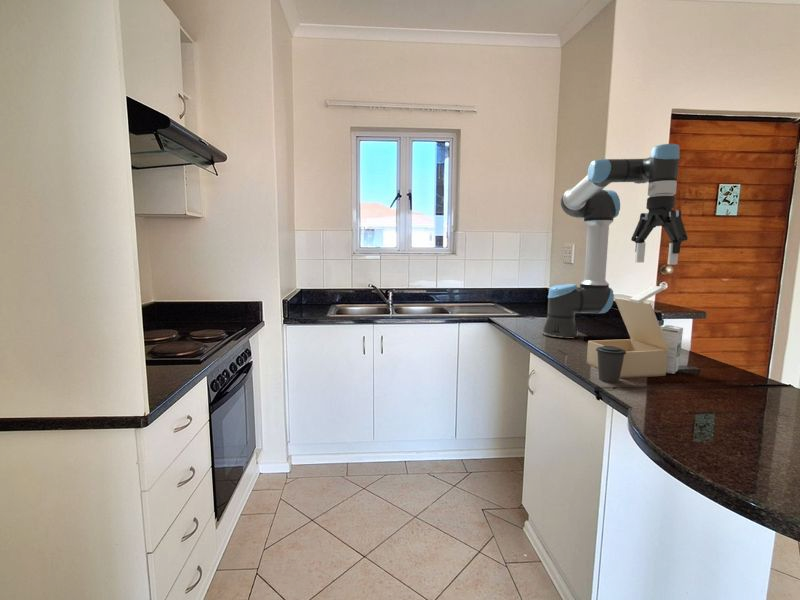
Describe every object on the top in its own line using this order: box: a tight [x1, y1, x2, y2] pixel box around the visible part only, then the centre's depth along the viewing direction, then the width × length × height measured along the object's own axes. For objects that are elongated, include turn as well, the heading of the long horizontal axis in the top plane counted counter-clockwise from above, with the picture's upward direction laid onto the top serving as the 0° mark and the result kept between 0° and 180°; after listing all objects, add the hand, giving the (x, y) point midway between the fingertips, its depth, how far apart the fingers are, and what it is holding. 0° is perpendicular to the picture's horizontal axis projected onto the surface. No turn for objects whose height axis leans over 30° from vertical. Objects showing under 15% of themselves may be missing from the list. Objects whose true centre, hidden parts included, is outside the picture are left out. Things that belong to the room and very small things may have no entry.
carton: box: [586, 338, 668, 379], centre depth 129 cm, size 16×16×8 cm
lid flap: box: [614, 285, 669, 350], centre depth 128 cm, size 15×17×9 cm
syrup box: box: [660, 324, 684, 375], centre depth 127 cm, size 6×6×14 cm
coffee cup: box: [596, 346, 626, 384], centre depth 118 cm, size 8×8×10 cm
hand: (655, 263), depth 129 cm, fingers open, 13 cm apart
